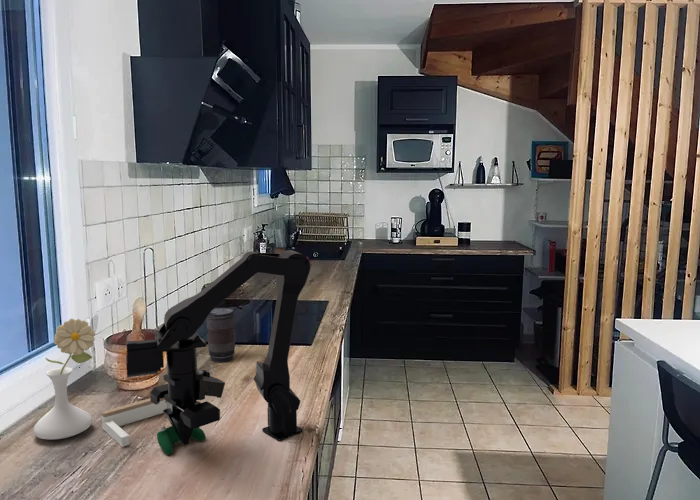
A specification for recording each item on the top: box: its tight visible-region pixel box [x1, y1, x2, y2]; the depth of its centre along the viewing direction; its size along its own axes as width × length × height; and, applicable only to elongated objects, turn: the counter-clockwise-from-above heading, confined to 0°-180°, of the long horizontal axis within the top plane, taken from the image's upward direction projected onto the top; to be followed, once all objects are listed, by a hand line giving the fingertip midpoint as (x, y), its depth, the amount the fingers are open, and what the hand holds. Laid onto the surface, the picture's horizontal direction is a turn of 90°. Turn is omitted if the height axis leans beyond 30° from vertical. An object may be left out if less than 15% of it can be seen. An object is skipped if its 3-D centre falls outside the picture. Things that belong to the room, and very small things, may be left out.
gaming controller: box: [156, 425, 207, 456], centre depth 112 cm, size 9×4×6 cm
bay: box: [101, 398, 167, 448], centre depth 121 cm, size 12×18×4 cm, turn 133°
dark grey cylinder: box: [206, 307, 236, 363], centre depth 164 cm, size 8×8×15 cm
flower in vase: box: [32, 318, 96, 440], centre depth 116 cm, size 13×11×25 cm
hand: (185, 444), depth 109 cm, fingers closed
